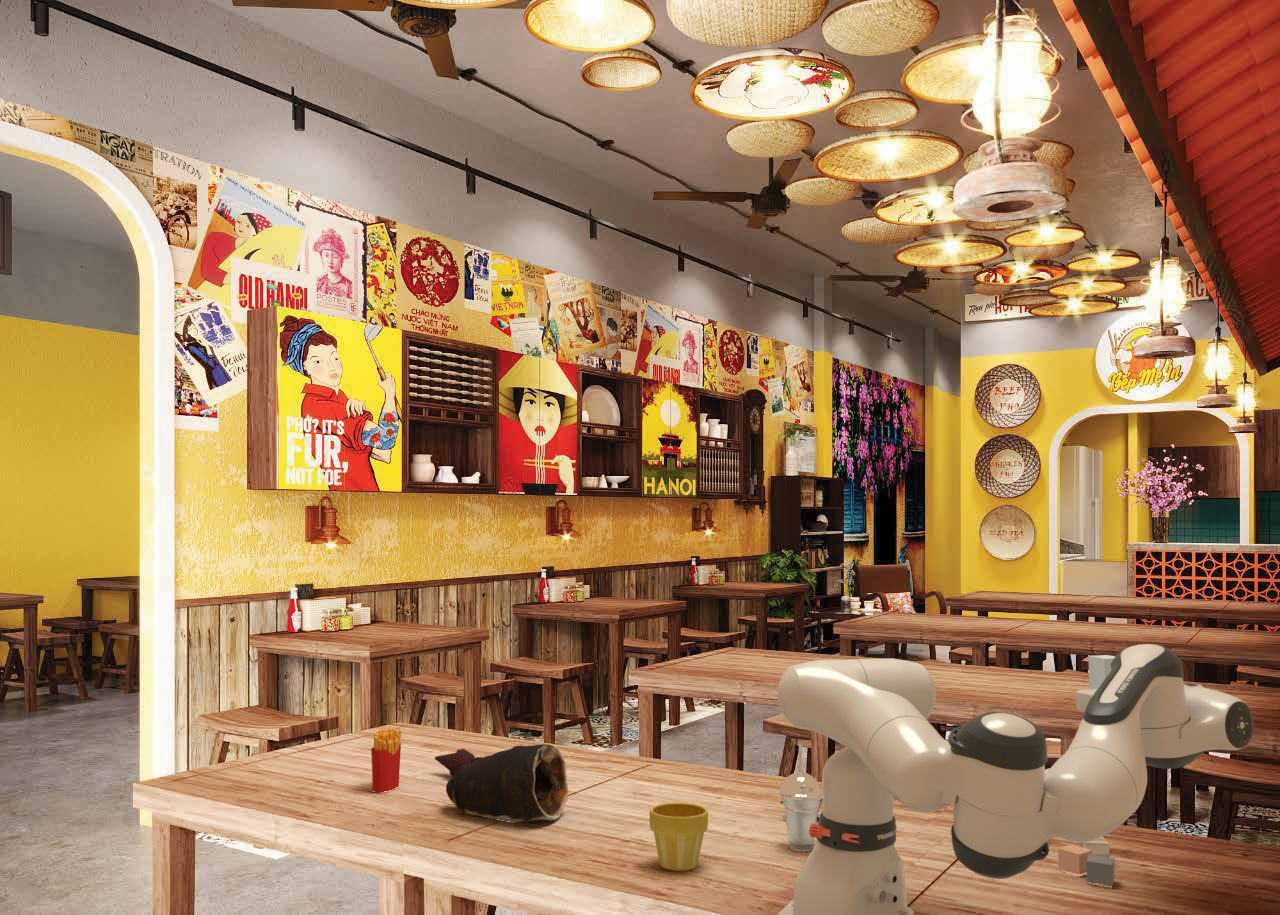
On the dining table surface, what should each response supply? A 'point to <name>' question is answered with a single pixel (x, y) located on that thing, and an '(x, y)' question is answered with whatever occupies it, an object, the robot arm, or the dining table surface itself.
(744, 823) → the dining table surface
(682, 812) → the plant pot
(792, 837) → the cup with straw
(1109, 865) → the charcoal cube
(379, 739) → the french fries
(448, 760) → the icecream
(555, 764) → the dark brown tapered cylinder
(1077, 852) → the terracotta cube
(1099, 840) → the cream cube
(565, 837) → the dining table surface
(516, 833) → the dining table surface
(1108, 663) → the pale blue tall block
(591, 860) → the dining table surface
